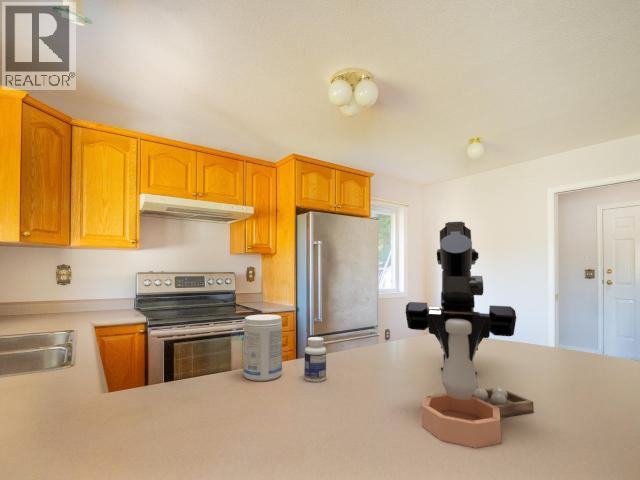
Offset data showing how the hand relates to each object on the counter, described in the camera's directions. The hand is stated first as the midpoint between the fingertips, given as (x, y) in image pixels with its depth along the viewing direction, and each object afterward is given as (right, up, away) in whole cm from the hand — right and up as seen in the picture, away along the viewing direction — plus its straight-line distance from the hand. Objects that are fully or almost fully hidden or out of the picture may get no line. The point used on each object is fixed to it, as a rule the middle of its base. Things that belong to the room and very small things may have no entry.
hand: (459, 358), depth 58 cm
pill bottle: (-25, -14, +25) cm, 38 cm away
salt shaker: (0, -7, +1) cm, 7 cm away
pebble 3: (+11, -11, +7) cm, 17 cm away
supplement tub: (-38, -14, +27) cm, 49 cm away
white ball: (+13, -11, +11) cm, 20 cm away
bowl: (0, -12, 0) cm, 12 cm away
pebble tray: (+11, -13, +9) cm, 19 cm away
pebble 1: (+8, -11, +10) cm, 17 cm away
